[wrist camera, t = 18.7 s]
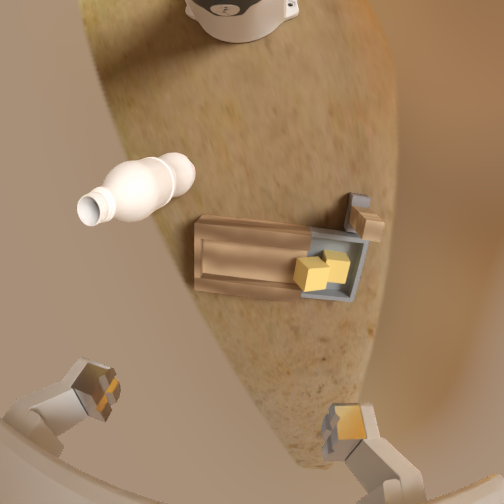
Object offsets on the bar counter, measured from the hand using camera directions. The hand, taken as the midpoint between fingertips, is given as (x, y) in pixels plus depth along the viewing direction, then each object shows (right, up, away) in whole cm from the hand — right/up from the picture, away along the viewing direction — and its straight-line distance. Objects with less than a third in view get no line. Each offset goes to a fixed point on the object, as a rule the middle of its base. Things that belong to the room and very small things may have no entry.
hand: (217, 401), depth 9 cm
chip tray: (+15, +4, +39) cm, 42 cm away
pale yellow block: (+11, +2, +35) cm, 37 cm away
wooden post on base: (+18, +12, +36) cm, 42 cm away
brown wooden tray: (+1, +5, +40) cm, 41 cm away
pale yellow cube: (+15, +3, +37) cm, 40 cm away
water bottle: (-11, +19, +36) cm, 42 cm away
